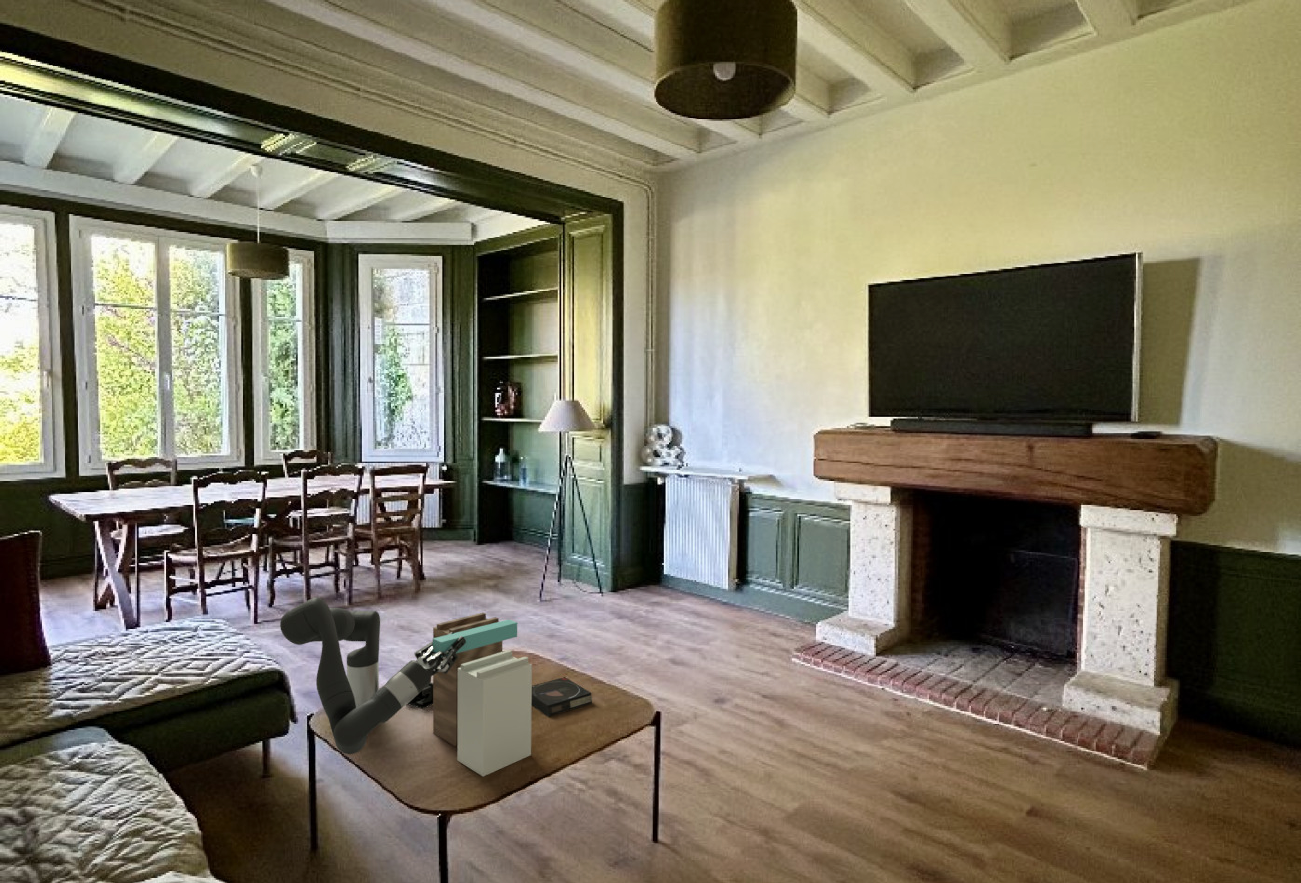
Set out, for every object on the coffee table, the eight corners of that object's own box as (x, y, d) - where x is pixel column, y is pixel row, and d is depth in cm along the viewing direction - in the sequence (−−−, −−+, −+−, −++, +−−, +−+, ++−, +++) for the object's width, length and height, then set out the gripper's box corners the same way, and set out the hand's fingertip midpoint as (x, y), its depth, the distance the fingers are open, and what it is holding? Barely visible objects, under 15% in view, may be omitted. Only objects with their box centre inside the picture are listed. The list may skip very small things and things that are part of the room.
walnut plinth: (455, 746, 207) (456, 632, 205) (433, 733, 215) (433, 622, 213) (501, 728, 219) (502, 619, 217) (478, 716, 227) (479, 611, 225)
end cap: (440, 701, 237) (440, 681, 237) (424, 709, 231) (424, 688, 231) (418, 695, 242) (418, 675, 242) (401, 702, 236) (401, 682, 236)
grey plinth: (482, 776, 191) (483, 674, 190) (457, 760, 199) (457, 662, 198) (530, 755, 203) (531, 659, 201) (505, 740, 211) (505, 648, 209)
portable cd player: (548, 718, 227) (548, 706, 227) (522, 700, 241) (522, 688, 240) (592, 705, 238) (592, 693, 237) (564, 688, 251) (564, 677, 251)
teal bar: (440, 657, 184) (441, 642, 184) (432, 653, 187) (432, 638, 187) (517, 636, 202) (517, 622, 202) (508, 633, 205) (508, 619, 205)
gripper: (414, 681, 174) (468, 632, 184) (385, 665, 183) (438, 620, 194) (428, 703, 177) (480, 653, 187) (399, 686, 186) (450, 640, 197)
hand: (458, 637), depth 190 cm, fingers closed on teal bar, 4 cm apart
